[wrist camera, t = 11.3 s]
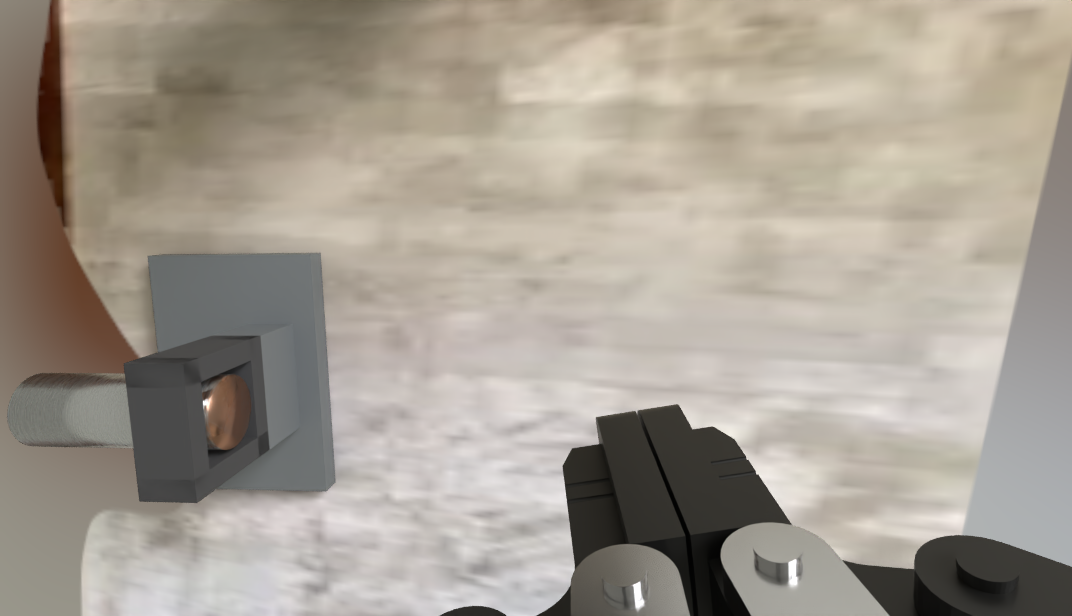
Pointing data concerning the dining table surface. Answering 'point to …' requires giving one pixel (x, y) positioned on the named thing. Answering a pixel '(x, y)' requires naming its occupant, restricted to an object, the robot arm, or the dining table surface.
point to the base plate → (287, 349)
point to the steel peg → (113, 411)
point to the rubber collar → (191, 417)
